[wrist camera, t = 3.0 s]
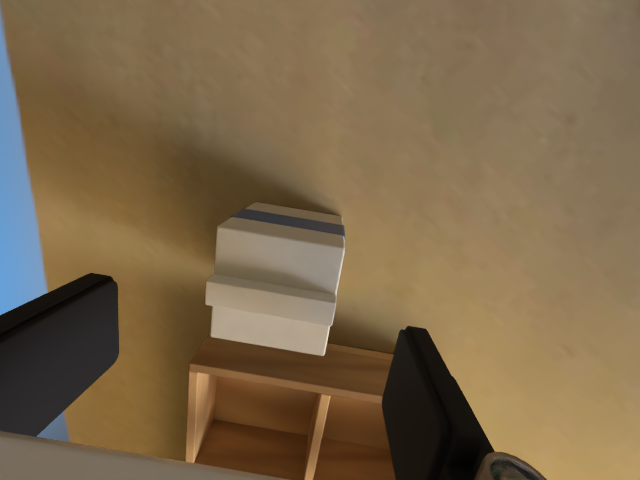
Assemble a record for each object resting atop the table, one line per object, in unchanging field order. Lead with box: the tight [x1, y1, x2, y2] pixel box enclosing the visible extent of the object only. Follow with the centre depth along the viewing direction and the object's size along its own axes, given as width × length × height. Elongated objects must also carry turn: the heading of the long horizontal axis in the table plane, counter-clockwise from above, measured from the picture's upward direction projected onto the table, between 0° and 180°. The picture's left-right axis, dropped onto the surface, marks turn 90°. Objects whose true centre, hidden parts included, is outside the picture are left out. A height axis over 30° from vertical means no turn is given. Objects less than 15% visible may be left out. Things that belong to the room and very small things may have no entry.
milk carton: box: [205, 202, 345, 356], centre depth 14 cm, size 5×5×6 cm
